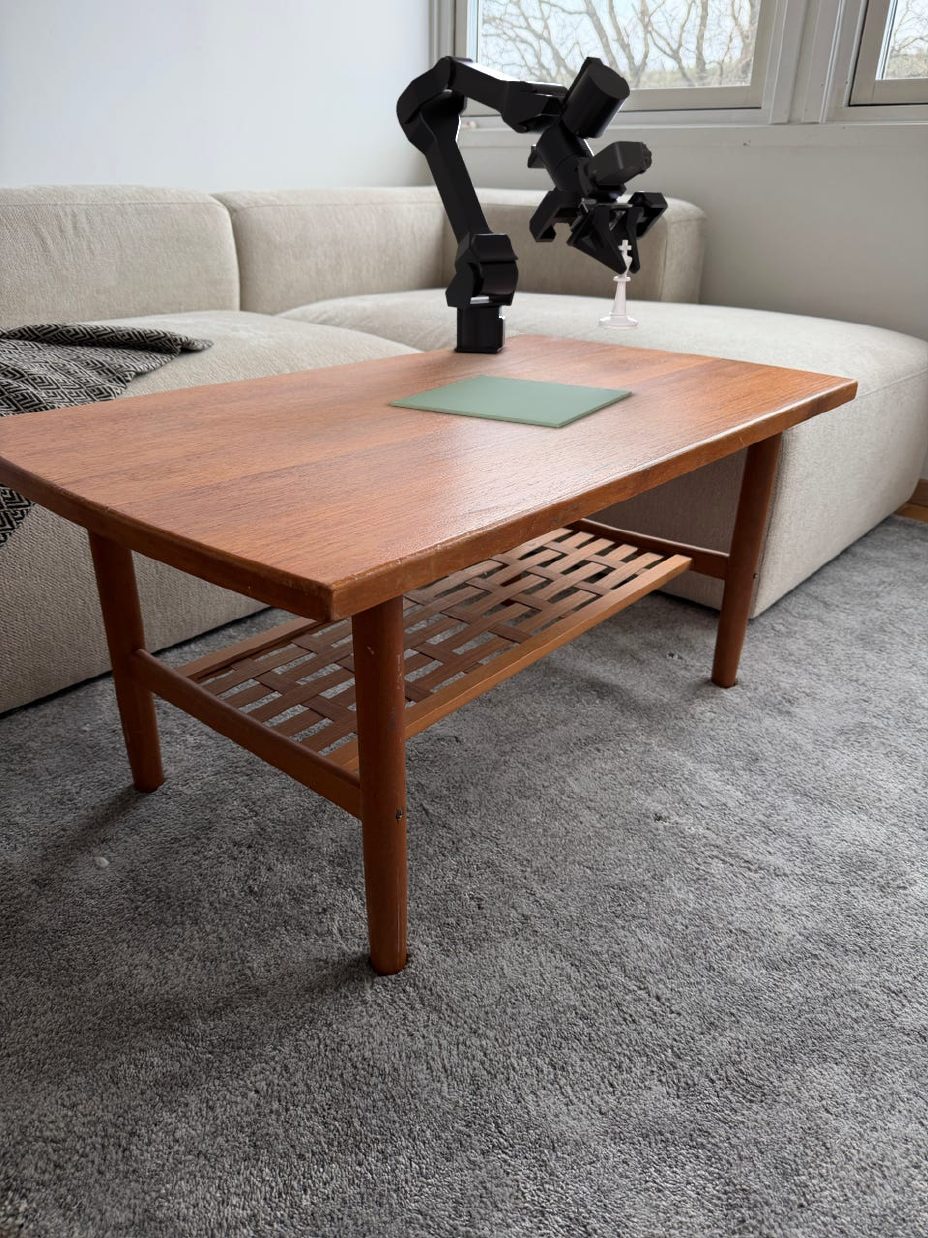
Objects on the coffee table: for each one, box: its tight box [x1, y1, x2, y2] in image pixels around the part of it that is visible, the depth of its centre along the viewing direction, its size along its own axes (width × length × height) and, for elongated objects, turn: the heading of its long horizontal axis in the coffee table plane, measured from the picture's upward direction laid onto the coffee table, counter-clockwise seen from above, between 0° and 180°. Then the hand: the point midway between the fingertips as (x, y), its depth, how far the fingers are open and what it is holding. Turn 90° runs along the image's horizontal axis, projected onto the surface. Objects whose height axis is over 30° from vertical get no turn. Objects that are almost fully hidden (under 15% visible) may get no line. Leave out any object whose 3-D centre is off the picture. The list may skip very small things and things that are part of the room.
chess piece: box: [597, 240, 639, 331], centre depth 111 cm, size 5×5×10 cm
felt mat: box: [390, 374, 632, 428], centre depth 102 cm, size 20×20×1 cm
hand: (630, 271), depth 109 cm, fingers closed on chess piece
